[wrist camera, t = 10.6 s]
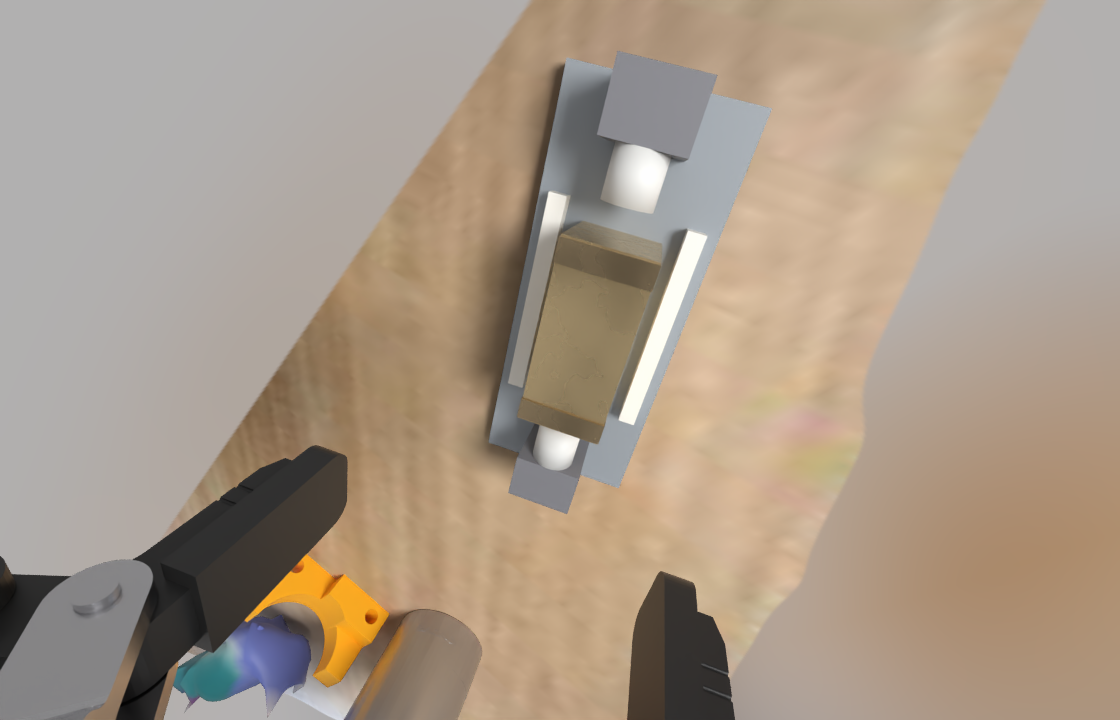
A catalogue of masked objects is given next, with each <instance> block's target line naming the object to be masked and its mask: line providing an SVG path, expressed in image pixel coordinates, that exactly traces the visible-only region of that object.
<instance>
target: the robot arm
mask: <svg viewBox="0 0 1120 720" xmlns="http://www.w3.org/2000/svg"><path fill="white" fill-rule="evenodd" d="M346 502H347V457H346V456H345V455H343V454H340V453H337V452H335V451H332V450H329V449H326V448H324V447H321V446H318V445H315V446H312V447H310V448H308V449H307V450H305V451H304V452H303V453H302V454H300V455H299V456H298V457H296V458H295V459H294V460H289V459H286V458H285V459H282V460H280V461H277V462H275V463H272V464H270V465H267V466H265V467H262V468H260V469H259V470H257V471H256V472H254V473H253V474H252V475H250V476H249V477H248V478H246V479H245V480H243V481H242V482H241V483H239V485H238V487H236V488H235V487H234V488H232V489H231V490H230V491H228V492H227V493H226V494H224V495H223V496H221V498H220V500H219V501H215V502H213V503H212V504H210V505H209V506H208V507H206V508H205V509H204V510H202V511H201V512H199V513H198V514H197V515H195V516H194V517H193V518H191V519H190V520H188V521H187V522H186V523H184V524H183V525H182V526H180V527H179V528H178V529H176V530H175V531H173V532H172V533H171V534H169V535H168V536H167V537H165V538H164V539H162V540H161V541H160V542H158V543H157V544H156V545H154V546H153V547H151V548H150V549H149V550H147V551H146V552H144V553H143V554H142V555H140V556H138V557H136V558H135V559H133V560H115V561H109V562H105V563H101V564H98V565H95V566H92V567H90V568H87V569H85V570H83V571H81V572H79V573H76V574H75V575H73V576H46V575H16V574H11V572H10V570H9V568H8V567H7V565H6V563H5V561H4V559H3V558H2V557H1V556H0V720H163V719H164V715H165V711H166V708H167V704H168V701H169V697H170V694H171V690H172V687H173V683H174V680H175V676H176V673H177V669H178V661H179V660H180V659H181V658H182V657H183V656H184V655H185V654H186V653H187V652H188V651H189V650H190V649H191V648H192V647H193V646H194V645H195V646H197V647H199V648H202V649H204V650H206V651H209V652H211V653H214V652H215V651H216V650H217V649H218V648H219V647H220V646H221V645H222V643H223V642H224V641H225V640H226V639H227V638H228V637H229V636H230V635H231V634H232V633H233V632H234V631H235V630H236V629H237V628H238V626H239V625H240V624H241V623H242V622H243V621H244V620H245V619H246V618H247V617H248V616H249V615H250V614H251V613H252V612H253V611H254V609H255V608H256V607H257V606H258V605H259V604H260V603H261V602H262V601H263V600H264V599H265V598H266V597H267V596H268V595H269V594H270V592H271V591H272V590H273V589H274V588H275V587H276V586H277V585H278V584H279V583H280V582H281V581H282V580H283V579H284V578H285V577H286V575H287V574H288V573H289V572H290V571H291V570H292V569H293V568H294V567H295V566H296V565H297V564H298V563H299V562H300V561H301V560H302V558H303V557H304V556H305V555H306V554H307V553H308V552H309V551H310V550H311V549H312V548H313V547H314V546H315V545H316V544H317V543H318V541H319V540H320V539H321V538H322V537H323V536H324V535H325V534H326V533H327V532H328V531H329V530H330V529H331V528H332V527H333V525H334V524H335V523H336V522H337V521H338V519H339V518H340V516H341V514H342V513H343V510H344V508H345V505H346ZM481 656H482V648H481V645H480V642H479V640H478V639H477V637H476V636H475V634H474V633H473V632H472V631H471V630H470V629H469V628H468V627H467V626H465V625H464V624H463V623H461V622H460V621H458V620H457V619H455V618H453V617H451V616H449V615H447V614H444V613H441V612H438V611H433V610H416V611H412V612H410V613H408V614H407V615H406V616H405V617H404V619H403V620H402V622H401V624H400V625H399V627H398V629H397V630H396V632H395V634H394V636H393V637H392V639H391V641H390V642H389V644H388V646H387V647H386V649H385V651H384V652H383V654H382V656H381V657H380V659H379V661H378V662H377V664H376V666H375V667H374V669H373V671H372V672H371V674H370V676H369V678H368V679H367V681H366V683H365V684H364V686H363V688H362V689H361V691H360V693H359V695H358V696H357V698H356V700H355V701H354V703H353V705H352V706H351V708H350V710H349V712H348V713H347V715H346V717H345V718H344V720H458V717H459V714H460V712H461V709H462V706H463V704H464V701H465V699H466V696H467V694H468V691H469V689H470V686H471V683H472V681H473V678H474V675H475V673H476V670H477V667H478V665H479V662H480V660H481ZM728 673H729V671H728V663H727V656H726V648H725V643H724V641H723V639H722V637H721V634H720V632H719V630H718V628H717V626H716V624H715V621H714V619H713V617H711V616H708V615H706V614H703V613H700V612H697V599H696V589H695V585H694V583H692V582H690V581H687V580H685V579H682V578H679V577H676V576H673V575H671V574H668V573H665V572H662V571H660V572H659V573H658V575H657V577H656V579H655V581H654V583H653V585H652V587H651V588H650V590H649V592H648V594H647V596H646V598H645V600H644V602H643V604H642V606H641V608H640V610H639V613H638V615H637V619H636V622H635V627H634V632H633V641H632V656H631V671H630V686H629V701H628V716H627V720H735V717H734V709H733V703H732V702H731V697H732V694H731V686H730V679H729V678H728Z"/></svg>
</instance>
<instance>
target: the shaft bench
mask: <svg viewBox="0 0 1120 720" xmlns="http://www.w3.org/2000/svg"><path fill="white" fill-rule="evenodd" d="M716 78H717V75H715V74H711V73H706V72H702V71H698V70H694V69H690V68H686V67H682V66H678V65H674V64H669V63H665V62H661V61H657V60H653V59H649V58H645V57H641V56H637V55H632V54H628V53H624V52H620V51H617V55H616V59H615V64H614V68H613V69H611V68H607V67H603V66H599V65H595V64H591V63H587V62H583V61H579V60H575V59H571V58H567V59H566V63H565V68H564V73H563V78H562V83H561V88H560V93H559V98H558V103H557V108H556V113H555V118H554V122H553V127H552V132H551V137H550V142H549V147H548V152H547V157H546V162H545V167H544V172H543V177H542V181H541V186H540V191H539V196H538V201H537V206H536V211H535V216H534V221H533V226H532V231H531V236H530V240H529V245H528V250H527V255H526V260H525V265H524V270H523V275H522V280H521V285H520V290H519V294H518V299H517V304H516V309H515V314H514V319H513V324H512V329H511V334H510V339H509V344H508V349H507V353H506V358H505V363H504V368H503V373H502V378H501V383H500V388H499V393H498V398H497V403H496V408H495V412H494V417H493V422H492V427H491V432H490V437H489V443H492V444H495V445H497V446H500V447H503V448H506V449H509V450H512V451H514V452H517V453H519V455H518V457H517V460H516V464H515V468H514V472H513V476H512V480H511V484H510V488H509V492H508V493H510V494H513V495H516V496H519V497H521V498H524V499H527V500H530V501H532V502H535V503H538V504H541V505H543V506H546V507H549V508H552V509H554V510H557V511H560V512H563V513H565V514H567V513H568V510H569V507H570V504H571V501H572V498H573V495H574V492H575V489H576V486H577V484H578V481H579V477H580V475H583V476H585V477H588V478H591V479H594V480H597V481H600V482H602V483H605V484H608V485H611V486H614V487H617V488H619V486H620V483H621V481H622V478H623V476H624V473H625V471H626V468H627V466H628V463H629V461H630V459H631V456H632V454H633V451H634V449H635V446H636V444H637V441H638V439H639V436H640V434H641V431H642V429H643V426H644V424H645V421H646V419H647V416H648V414H649V412H650V409H651V407H652V404H653V402H654V399H655V397H656V394H657V392H658V389H659V387H660V384H661V382H662V379H663V377H664V374H665V372H666V369H667V367H668V365H669V362H670V360H671V357H672V355H673V352H674V350H675V347H676V345H677V342H678V340H679V337H680V335H681V332H682V330H683V327H684V325H685V322H686V320H687V318H688V315H689V313H690V310H691V308H692V305H693V303H694V300H695V298H696V295H697V293H698V290H699V288H700V285H701V283H702V280H703V278H704V275H705V273H706V271H707V268H708V266H709V263H710V261H711V258H712V256H713V253H714V251H715V248H716V246H717V243H718V241H719V238H720V236H721V233H722V231H723V228H724V226H725V224H726V221H727V219H728V216H729V214H730V211H731V209H732V206H733V204H734V201H735V199H736V196H737V194H738V191H739V189H740V186H741V184H742V181H743V179H744V177H745V174H746V172H747V169H748V167H749V164H750V162H751V159H752V157H753V154H754V152H755V149H756V147H757V144H758V142H759V139H760V137H761V134H762V132H763V130H764V127H765V125H766V122H767V120H768V117H769V115H770V112H771V110H772V108H768V107H764V106H760V105H756V104H752V103H748V102H744V101H740V100H736V99H732V98H728V97H724V96H720V95H716V94H712V90H713V87H714V84H715V81H716ZM582 221H586V222H589V223H593V224H596V225H600V226H603V227H607V228H610V229H614V230H617V231H621V232H624V233H627V234H631V235H634V236H638V237H641V238H645V239H648V240H652V241H655V242H659V243H662V265H661V269H660V271H659V274H658V277H657V280H656V283H655V286H654V288H653V291H652V292H651V293H650V296H649V299H648V302H647V304H646V307H645V310H644V313H643V316H642V319H641V321H640V324H639V327H638V330H637V333H636V336H635V338H634V341H633V344H632V347H631V350H630V353H629V356H628V358H627V361H626V364H625V367H624V370H623V373H622V375H621V378H620V381H619V384H618V387H617V390H616V392H615V395H614V398H613V401H612V404H611V407H610V409H609V412H608V415H607V419H606V423H605V427H604V430H603V433H602V435H601V438H600V441H599V444H597V445H596V444H593V443H591V442H588V441H585V440H582V439H579V438H576V437H573V436H570V435H567V434H564V433H561V432H559V431H556V430H553V429H550V428H547V427H544V426H541V425H538V424H535V423H532V422H529V421H527V420H524V419H521V418H518V417H517V414H518V409H519V405H520V401H521V398H522V396H523V394H524V389H525V385H526V381H527V377H528V373H529V368H530V364H531V360H532V356H533V351H534V347H535V343H536V339H537V334H538V330H539V326H540V322H541V317H542V313H543V309H544V305H545V301H546V296H547V292H548V288H549V284H550V279H551V275H552V271H553V267H554V263H553V260H554V256H555V252H556V247H557V243H558V239H559V236H560V235H561V234H562V233H563V232H565V231H567V230H568V229H570V228H572V227H573V226H575V225H577V224H579V223H580V222H582Z"/></svg>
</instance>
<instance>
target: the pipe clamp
mask: <svg viewBox="0 0 1120 720" xmlns="http://www.w3.org/2000/svg"><path fill="white" fill-rule="evenodd" d="M292 571H293V572H291V571H290V572H289V573H288V574H287V575H286V577H285V578H284V579H283V580H282V581H281V582H280V583H279V584H278V585H277V586H276V587H275V588H274V589H273V590H272V591H271V592H270V594H269V595H268V596H267V597H266V598H265V599H264V600H263V601H262V602H261V603H260V604H259V605H258V606H257V607H256V608H255V609H254V611H253V612H252V613H251V614H250V615H249V616H248V617H247V618H246V619H245V621H246V622H248V621H249V620H251V619H252V618H253V617H255V616H256V615H258V614H259V613H260V612H261V611H262V610H263V609H265V608H266V607H269V606H271V605H274V604H277V603H282V602H296V603H300V604H303V605H305V606H307V607H309V608H310V609H312V610H313V611H314V612H315V613H316V614H317V616H318V617H319V619H320V621H321V623H322V626H323V629H324V636H325V642H324V650H323V654H322V658H321V660H320V663H319V665H318V667H317V669H316V671H315V672H314V674H313V676H314V677H315V678H316V679H317V680H319V681H320V682H321V683H322V684H324V685H325V686H326V687H327V688H328V687H330V686H332V685H334V684H337V683H339V682H341V680H342V679H343V677H344V675H345V674H346V672H347V671H348V669H349V668H350V666H351V665H352V663H353V661H354V660H355V658H356V657H357V655H358V654H359V652H360V650H361V649H362V647H364V646H366V645H368V644H370V643H372V641H373V640H374V638H375V636H376V635H377V633H378V632H379V630H380V628H381V627H382V625H383V624H384V622H385V620H386V619H387V617H388V616H389V613H388V612H387V611H386V610H384V609H383V608H382V607H381V606H380V605H379V604H378V603H376V602H375V601H374V600H373V599H372V598H371V597H370V596H368V595H367V594H366V593H365V592H364V591H363V590H362V589H360V588H359V587H358V586H357V585H356V584H355V583H354V582H352V581H351V580H350V579H349V578H348V577H347V576H346V575H343V576H341V577H340V578H338V579H337V580H336V579H334V578H333V577H332V576H331V575H330V574H329V573H327V572H326V571H325V570H324V569H323V568H322V567H321V566H319V565H318V564H317V563H316V562H315V561H314V560H313V559H311V558H310V557H309V556H308V555H307V554H306V555H305V556H304V557H303V558H302V560H301V561H300V562H299V563H298V564H297V565H296V566H295V567H294V568H293V569H292Z"/></svg>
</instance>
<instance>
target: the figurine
mask: <svg viewBox="0 0 1120 720" xmlns="http://www.w3.org/2000/svg"><path fill="white" fill-rule="evenodd" d="M310 661H311V649H310V645H309V641H308V640H307V639H306V638H305V637H304V636H303V635H299V634H294V633H291V632H290V630H289V628H288V626H287V625H286V623H285V621H284V619H283V617H282V615H279V616H277V617H275V618H273V619H268V618H265V617H254V618H252V619H251V620H249V621H248V622H246V621H245V620H244V621H243V622H242V623H241V624H240V625H239V626H238V628H237V629H236V630H235V631H234V632H233V633H232V634H231V635H230V636H229V637H228V638H227V639H226V640H225V642H224V643H223V644H222V645H221V646H220V647H219V648H218V649H217V650H216V651H215V652H214V653H211V652H209V651H205V652H203V653H201V654H199V655H197V656H195V657H194V658H192V659H190V660H189V661H187V662H185V663H184V664H182V665H181V666H179V667H178V669H177V673H176V676H175V680H174V683H173V686H174V687H175V688H176V689H178V690H179V691H180V692H181V693H184V692H185V693H186V695H187V697H188V699H189V700H190V702H189V704H188V706H187V708H186V710H187V709H188V708H189V707H190V706H191V705H192V704H193V703H194V702H195V701H196V700H197V699H198V698H199V697H201V698H203V699H205V700H206V701H212V702H213V701H221V700H224V699H227V698H229V697H231V696H233V695H235V694H237V693H240V692H242V691H244V690H246V689H248V688H251V687H253V686H256V685H257V684H259V683H261V684H262V686H263V687H264V689H265V693H266V705H267V717H268V716H269V715H270V713H271V711H272V710H273V708H274V706H275V705H276V703H277V702H278V700H279V698H280V697H281V695H282V694H283V692H284V691H285V690H287V689H288V688H289V687H291V686H293V685H294V690H293V693H294V692H296V691H297V690H299V689H301V688H302V687H303V686H304V684H305V682H306V675H307V670H308V666H309V663H310ZM186 710H185V711H186Z"/></svg>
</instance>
